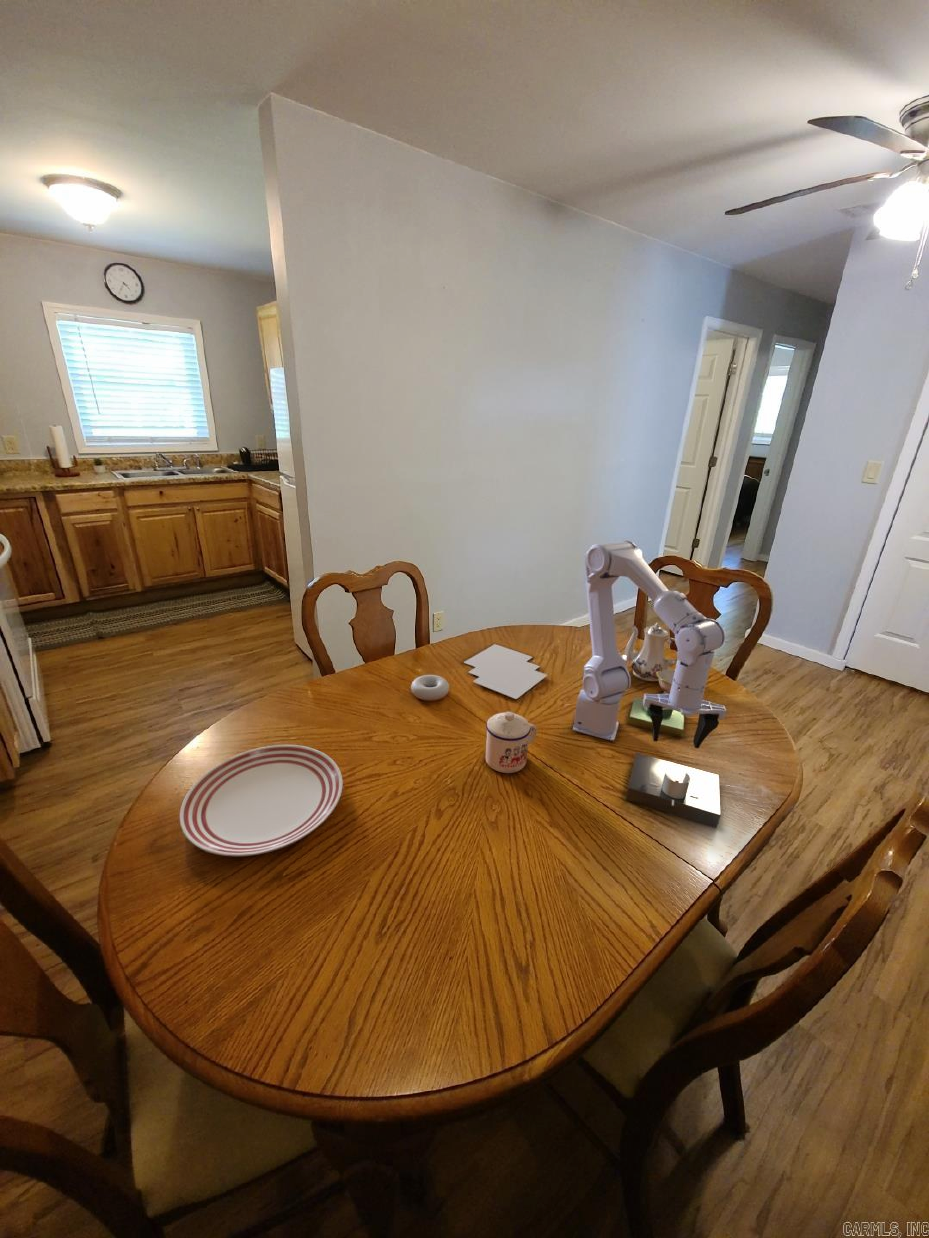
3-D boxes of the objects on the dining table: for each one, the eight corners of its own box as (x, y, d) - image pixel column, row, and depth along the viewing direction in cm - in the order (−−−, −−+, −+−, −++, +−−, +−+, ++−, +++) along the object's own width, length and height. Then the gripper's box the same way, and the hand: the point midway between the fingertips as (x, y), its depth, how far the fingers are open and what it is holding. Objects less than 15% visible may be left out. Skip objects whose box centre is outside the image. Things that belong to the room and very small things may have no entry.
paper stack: (445, 672, 141) (445, 670, 140) (494, 644, 159) (495, 642, 159) (516, 701, 128) (516, 699, 128) (561, 666, 146) (561, 664, 146)
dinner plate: (338, 857, 82) (337, 841, 80) (156, 876, 77) (151, 860, 76) (347, 752, 107) (346, 739, 105) (209, 762, 102) (207, 749, 101)
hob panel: (624, 804, 95) (627, 791, 94) (633, 763, 106) (635, 751, 105) (717, 833, 89) (721, 819, 88) (715, 786, 100) (719, 774, 99)
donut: (434, 707, 124) (456, 690, 132) (434, 696, 123) (456, 679, 131) (403, 695, 129) (426, 679, 137) (402, 684, 128) (426, 668, 136)
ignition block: (628, 724, 120) (630, 709, 119) (633, 703, 129) (635, 690, 127) (681, 737, 116) (684, 723, 114) (683, 715, 124) (686, 701, 123)
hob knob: (662, 779, 97) (666, 763, 96) (686, 786, 96) (690, 770, 94) (660, 794, 94) (664, 777, 92) (686, 801, 92) (690, 784, 90)
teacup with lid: (499, 780, 100) (503, 731, 96) (476, 754, 107) (478, 708, 103) (546, 762, 106) (552, 715, 101) (521, 739, 113) (525, 694, 109)
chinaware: (585, 678, 144) (590, 627, 136) (606, 653, 156) (612, 605, 148) (688, 711, 129) (700, 656, 122) (702, 680, 141) (714, 629, 134)
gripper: (650, 686, 92) (638, 747, 97) (736, 698, 89) (719, 761, 94) (647, 668, 98) (636, 726, 103) (727, 679, 95) (711, 739, 100)
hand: (675, 741), depth 99 cm, fingers open, 7 cm apart
